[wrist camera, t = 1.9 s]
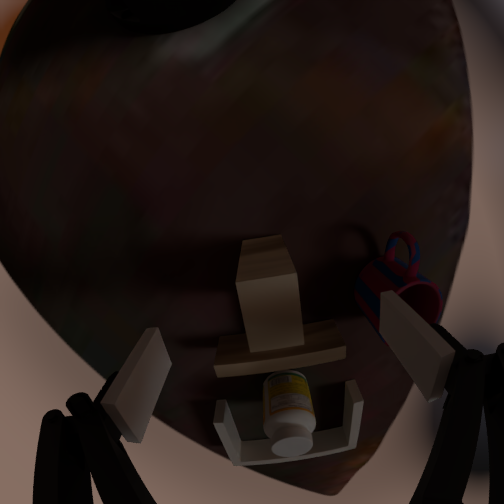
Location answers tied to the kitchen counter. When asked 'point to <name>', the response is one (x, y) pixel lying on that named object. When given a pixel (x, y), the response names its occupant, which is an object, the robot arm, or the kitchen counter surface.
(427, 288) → the mug
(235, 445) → the corral
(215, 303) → the kitchen counter surface
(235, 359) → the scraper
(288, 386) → the supplement bottle
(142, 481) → the robot arm
